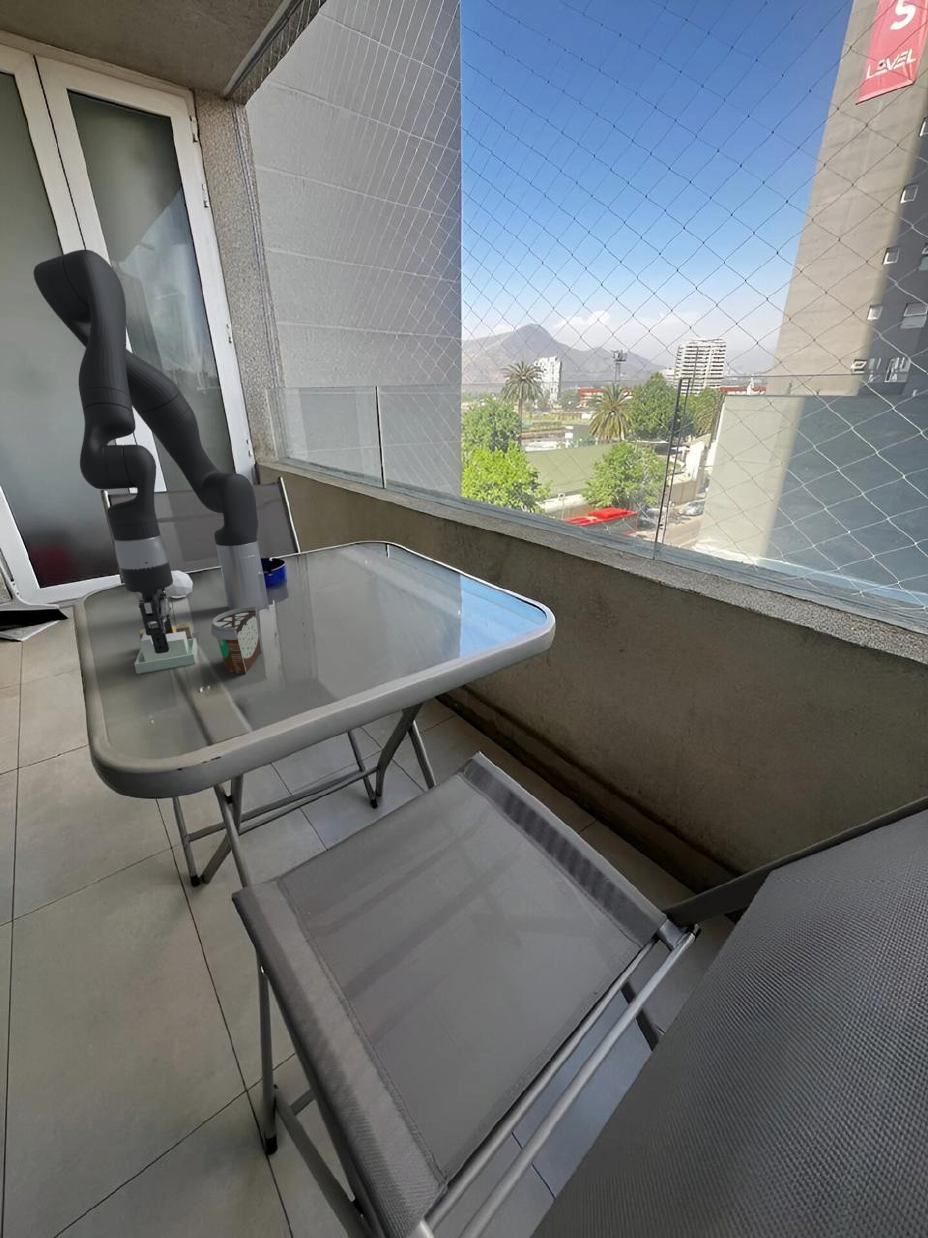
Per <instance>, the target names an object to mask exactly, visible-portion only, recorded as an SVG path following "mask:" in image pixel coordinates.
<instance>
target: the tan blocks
mask: <svg viewBox="0 0 928 1238" xmlns="http://www.w3.org/2000/svg"><path fill="white" fill-rule="evenodd" d="M175 627H176V632H183V631H185V633H186V637H187V640H188V639H194V637H193V633H194V632H193V630H192V625H191V622H190V621H188V622H182V623H177V624H176V626H175ZM153 628H156V627H153ZM144 632H146V630H145V628H143V629H140V631H139V639H140V640H141V639H142V637H143V634H144Z"/></svg>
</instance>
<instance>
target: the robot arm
mask: <svg viewBox="0 0 928 1238" xmlns="http://www.w3.org/2000/svg"><path fill="white" fill-rule="evenodd" d="M33 279H34V281H35V284H36V286H37V288H38V290H39V292H40V293H41V296H42V297H43V298H44V301H45V302H46V303H47V304H48V305H49V307H50V308H51V309H52V311H53V312H54V313H55V314H56V316H57V317H58V318H59V319H60V320H61V321H62V323H64V325H65V326H66V327H67V328H68V329H69V330H70V331H71V333H72V334H73V335H74V336H75V337H76V339H77V340H79V341H78V342H81V344H82V345H83V346H84V347H85V350H84V353H83V356H82V360H81V362H80V367H79V373H78V391H79V397H80V401H81V408H82V412H83V418H84V432H83V440H82V444H81V445H82V446H81V448H80V450H81V451H80V453H79V454H80V455H79V469H80V472H81V475H82V477H83V478H84V480H85V481H86V482H87V483H88V485H90V486H91V487H93V488H95V489H97V490H119V489H120V490H122V489H134V488H135V489H136V491H137V492H136V495H135V496H134V498H132V499H129V500H127V501H122V502H119V503H114V504H112V505H110V506H108V508H107V510H106V513H107V518H108V522H109V526H110V529H111V533H112V536H113V539H114V540H113V541H114V547H115V554H116V557H117V558H116V559H117V561H118V565H119V569H120V573H121V576H122V580H123V582H124V587H125V589H126V590H127V591H128V592H130V593H131V592H132V593H140V594H141V599H140V600H139V603H138V607H139V609H140V613H141V617H142V621H143V626H144V629H145V630H146V634H147V636H149V635H151V638H152V642H153V646H154V649H155V652H156V653H157V654H159V653H165V652H168V651H169V646H168V642H167V638H166V634H170V633H173V630H172V626H173V625H172V622H171V606H170V604H169V603H170V602H169V599H168V598H169V597H167V594H166V591H165V588H166V587H169V586H170V585H172V583H173V578H172V574H171V571H172V570H171V567H170V566H171V565H170V563H169V558H168V554H167V549H166V545H165V543H164V542H163V538H162V534H161V531H160V527H159V524H158V523H159V522H158V520H157V515H156V508H155V489H156V488H155V487H156V478H157V464H156V459H155V457H154V455H153V454H152V452H151V451H150V450H149V449H148V448H146V447H145V446H143V445H140V444H109V443H110V442H111V441H114V440H117V439H120V438H125V437H127V436H131V435H132V434H134V432H135V431H136V427H137V426H136V419H135V415H134V411H136V413H137V414H138V416H139V418H140V419H141V420H142V421H143V422H144V424H145V425H146V426H147V428H148V429H149V430H150V431H151V432H152V433H153V434H154V435H155V437H156V438H157V439H158V441H159V442H160V443H161V445H162V447H164V449H165V450H166V452H167V453H168V455H169V456H170V457H171V459H172V460H173V461H174V462H175V464H176V465H177V467H178V468H179V469H180V471H181V473H182V474H183V476H184V478H185V479H186V480H187V483H188V484H189V485H190V487H191V488H192V490H193V492H194V494H195V495H196V497H197V498H198V500H199V501H200V502H201V504H202V505H203V506H204V507H205V508H206V509H208V510H210V511H211V512H213V513H218V514H223V526H222V527H221V528H219V529H218V530H217V529H216V531H215V532H214V542H215V546H216V547H215V548H216V550H217V551H216V552H217V556H218V561H219V566H220V571H221V575H222V581H223V586H224V590H225V595H226V601H227V607H228V611H231V610H235V609H239V608H245V607H256V609H257V612H258V611H259V612H260V611H262V610H264V609H266V610H270V606H269V605H270V604H269V599H268V594H267V588H266V582H265V575H264V571H263V566H262V560H261V555H260V547H259V542H258V536H257V535H258V534H257V533H258V530H259V520H258V510H257V509H258V508H257V502H256V501H257V500H256V494H255V491H254V487H253V485H252V483H251V482H250V480H249V479H248V478H247V477H246V476H245V475H243V474H241V473H236V472H222V471H220V470H219V469H218V468H217V467H216V465H215V464H214V463H213V462H212V460H211V459H210V457H209V455H207V453H206V451H205V450H204V447H203V445H202V442H201V437H200V436H201V435H200V430H199V425H198V421H197V420H198V419H197V418H196V414H195V413H194V410H193V409H192V407H191V405H190V404H189V402H188V401H187V399H186V398H185V396H184V395H183V393H182V392H181V391H180V389H179V387H178V386H177V385H176V383H175V382H174V381H173V380H172V379H171V378H170V377H169V376H167V375H166V374H165V373H163V372H162V371H161V370H159V368H158V369H157V368H156V367H154V366H153V365H152V364H150V363H148V362H147V361H145V360H143V359H142V358H140V357H139V356H137V355H136V354H134V353H133V352H132V351H130V350H129V349H128V348H127V306H126V305H127V304H126V297H125V292H124V288H123V285H122V283H121V280H120V278H119V276H118V275H117V272H116V271H115V270H114V269H113V267H112V266H111V265H110V263H109V262H108V261H107V260H106V259H105V258H104V257H103V256H102V255H100V254H99V253H98V252H95V251H93V250H90V249H76V250H74V251H71V252H67V253H64V254H62V255H58V256H56V257H53V258H50V259H48V260H45V261H42V262H39V263H38V264H36V265H35V266H34V268H33ZM153 624H157V627H155V628H154V627H153Z"/></svg>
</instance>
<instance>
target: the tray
mask: <svg viewBox="0 0 928 1238" xmlns="http://www.w3.org/2000/svg"><path fill="white" fill-rule="evenodd" d="M187 641H188V645H189V655H183V656H177V657H171V658H165V659H159V660H154V661H148V662H145V659H144V655H143V652H142V648H141V647H140V650H139V652H138V655H137V657H136V660H135V662H134V668H135V671H136V675H140V674H139V673H142V674H146V673H145V672H147V673H152V672H151V671H153V672H157V671H156V670H159V671H163V670H162V669H164V670H168V669H167V668H170V669H174V668H173V667H176V668H180V667H179V666H181V667H185V666H184V665H187V666H191V665H190V664H193V665H196V663H197V657H196V656H198V649H199V645H198V646H197V641H196V638H194V639H188V640H187ZM197 648H198V649H197Z"/></svg>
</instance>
